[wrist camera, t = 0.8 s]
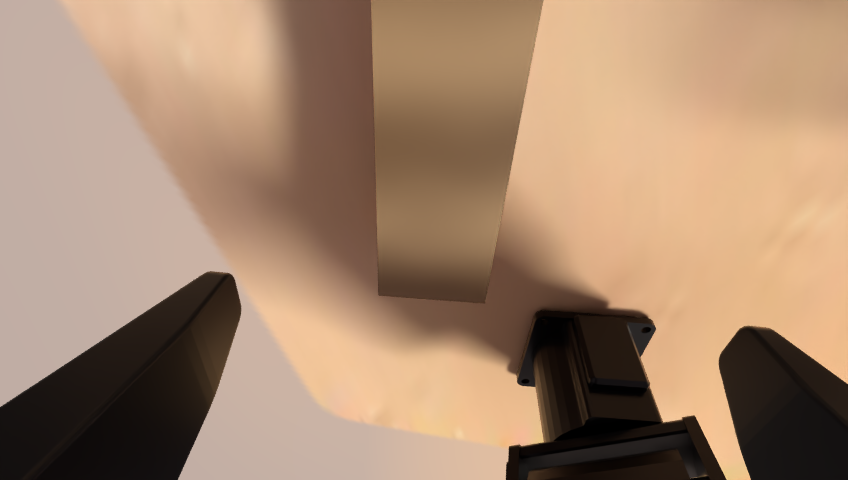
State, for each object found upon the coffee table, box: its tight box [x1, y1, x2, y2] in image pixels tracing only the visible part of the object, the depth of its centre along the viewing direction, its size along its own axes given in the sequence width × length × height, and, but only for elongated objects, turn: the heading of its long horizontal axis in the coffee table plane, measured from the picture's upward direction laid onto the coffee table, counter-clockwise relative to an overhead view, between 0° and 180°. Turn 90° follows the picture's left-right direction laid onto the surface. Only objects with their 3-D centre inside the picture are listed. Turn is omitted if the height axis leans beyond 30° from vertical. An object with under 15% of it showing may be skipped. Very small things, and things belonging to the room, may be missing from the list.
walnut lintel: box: [371, 0, 543, 303], centre depth 16 cm, size 14×4×4 cm, turn 177°
